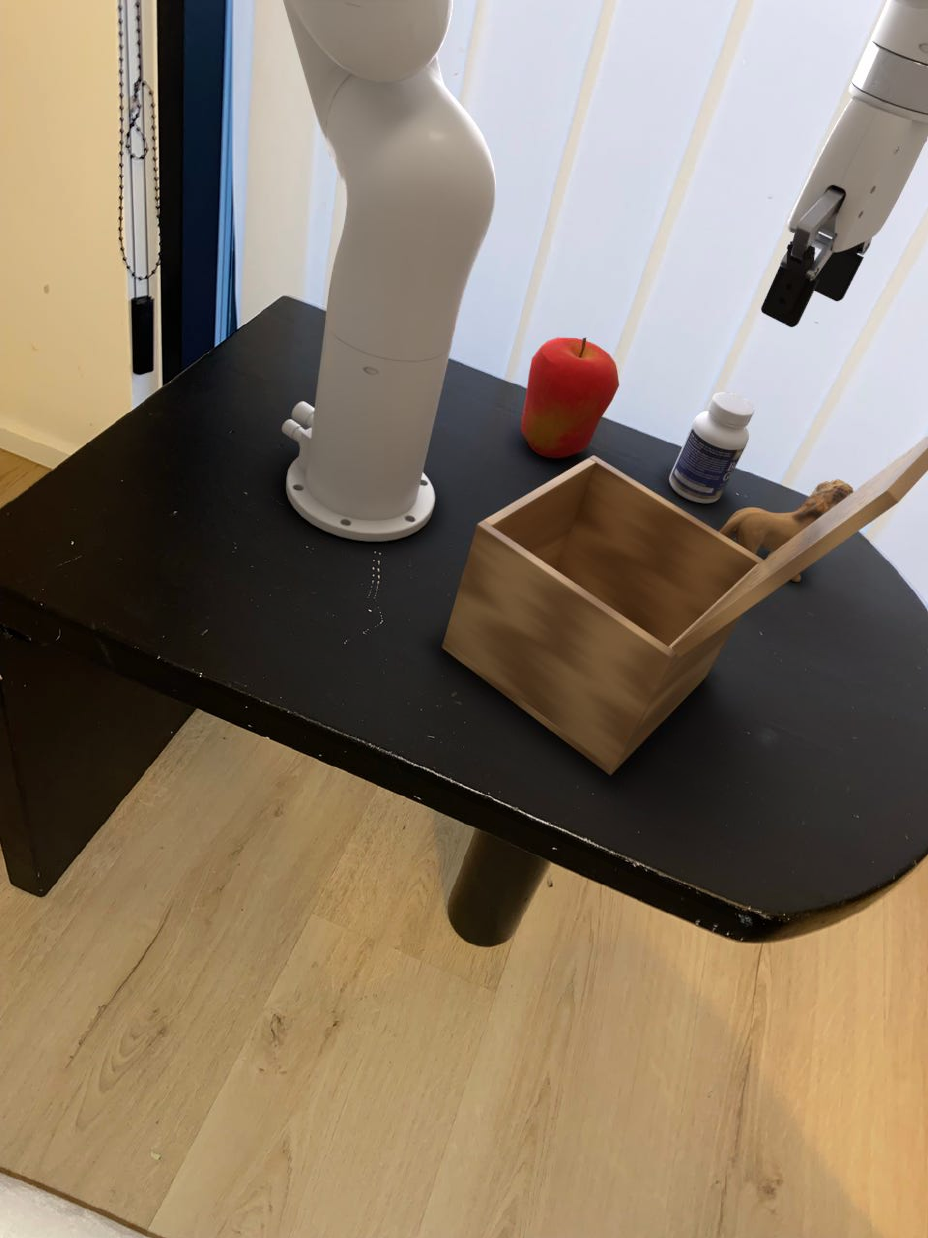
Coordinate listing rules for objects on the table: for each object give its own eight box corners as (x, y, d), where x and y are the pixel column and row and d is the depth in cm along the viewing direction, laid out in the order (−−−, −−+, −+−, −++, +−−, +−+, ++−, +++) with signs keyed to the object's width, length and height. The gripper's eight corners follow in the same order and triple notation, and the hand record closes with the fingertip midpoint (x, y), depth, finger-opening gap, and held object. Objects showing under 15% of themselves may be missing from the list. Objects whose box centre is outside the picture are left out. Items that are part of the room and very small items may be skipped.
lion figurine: (793, 541, 90) (838, 464, 84) (830, 577, 87) (879, 500, 81) (674, 561, 84) (714, 479, 78) (709, 601, 81) (753, 519, 75)
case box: (441, 647, 70) (476, 524, 62) (551, 570, 79) (593, 454, 71) (610, 776, 64) (672, 658, 56) (706, 676, 74) (770, 564, 66)
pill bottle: (720, 511, 91) (763, 425, 85) (666, 495, 91) (705, 408, 85) (719, 481, 95) (760, 397, 89) (668, 466, 95) (706, 381, 89)
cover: (887, 489, 44) (899, 502, 44) (970, 403, 54) (980, 413, 53) (670, 647, 56) (679, 658, 56) (770, 554, 66) (777, 563, 66)
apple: (594, 479, 91) (635, 369, 83) (509, 461, 90) (542, 348, 82) (589, 431, 97) (627, 325, 89) (509, 414, 96) (540, 305, 88)
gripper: (899, 60, 75) (803, 268, 87) (815, 72, 64) (717, 309, 75) (989, 94, 72) (877, 303, 84) (918, 113, 61) (800, 351, 73)
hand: (801, 306), depth 80 cm, fingers open, 9 cm apart
